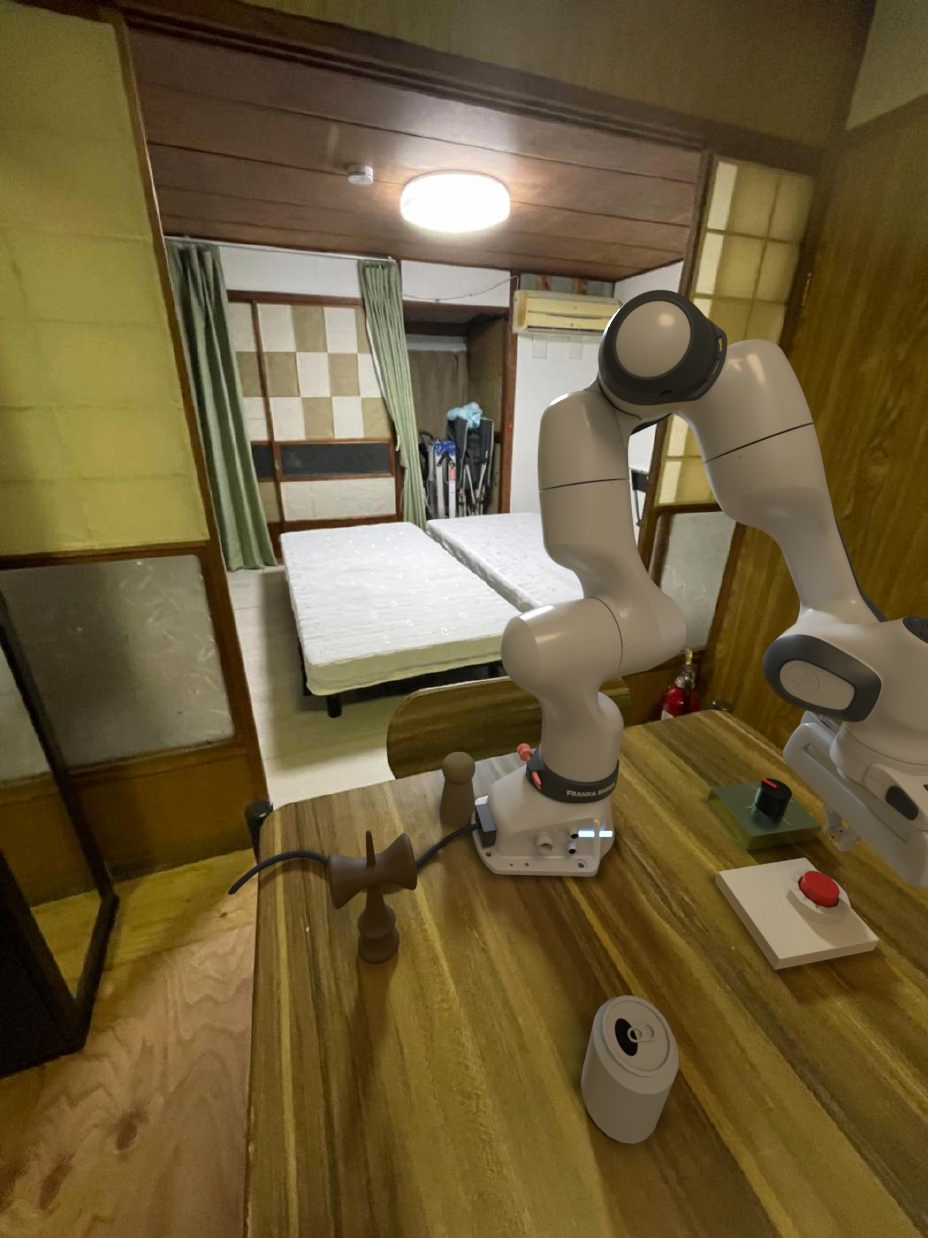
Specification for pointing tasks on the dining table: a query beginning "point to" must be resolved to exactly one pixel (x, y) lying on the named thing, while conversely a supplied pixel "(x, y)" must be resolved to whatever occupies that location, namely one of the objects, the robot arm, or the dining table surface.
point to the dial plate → (761, 818)
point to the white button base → (792, 915)
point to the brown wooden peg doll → (457, 789)
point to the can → (628, 1068)
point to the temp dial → (773, 796)
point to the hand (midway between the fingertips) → (835, 841)
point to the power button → (819, 888)
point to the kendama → (373, 892)
